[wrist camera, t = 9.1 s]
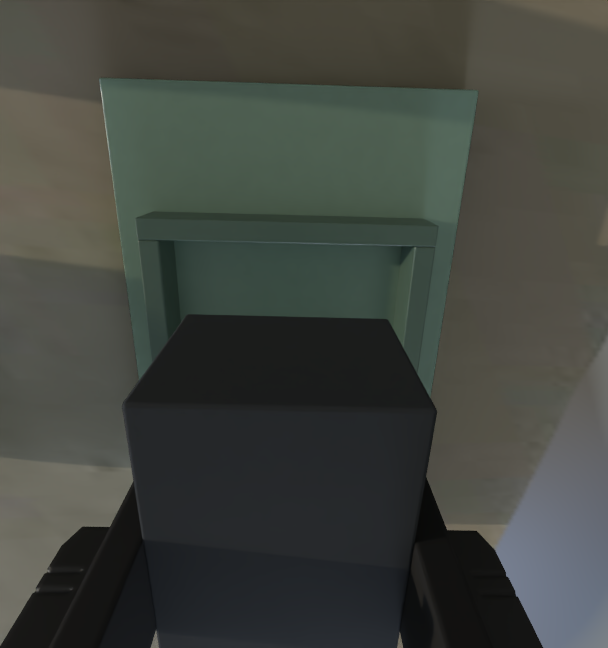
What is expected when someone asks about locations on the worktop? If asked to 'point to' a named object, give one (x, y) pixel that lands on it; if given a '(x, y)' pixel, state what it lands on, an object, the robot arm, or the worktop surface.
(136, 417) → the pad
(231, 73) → the worktop surface
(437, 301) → the base pad
